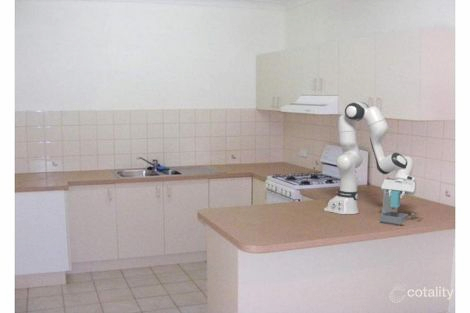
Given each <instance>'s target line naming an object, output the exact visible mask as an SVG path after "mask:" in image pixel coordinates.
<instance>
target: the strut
mask: <svg viewBox="0 0 470 313" xmlns="http://www.w3.org/2000/svg"><path fill="white" fill-rule="evenodd" d="M399 195H401V191H391V201H390V207H398V208H399V207H401V199H399Z"/></svg>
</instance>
